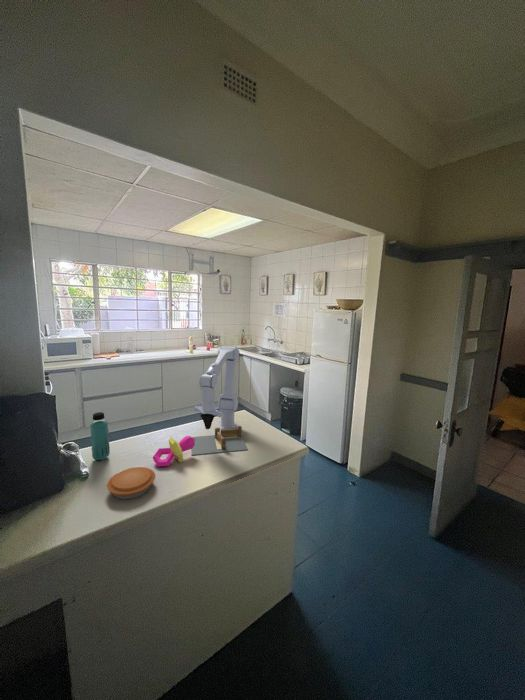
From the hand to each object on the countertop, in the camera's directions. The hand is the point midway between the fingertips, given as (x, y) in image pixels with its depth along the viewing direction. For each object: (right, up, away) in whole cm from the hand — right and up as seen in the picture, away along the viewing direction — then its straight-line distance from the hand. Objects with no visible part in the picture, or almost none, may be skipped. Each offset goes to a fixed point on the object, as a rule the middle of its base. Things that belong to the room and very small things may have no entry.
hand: (208, 428), depth 129 cm
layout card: (+4, -8, +4) cm, 10 cm away
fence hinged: (+6, -8, +2) cm, 10 cm away
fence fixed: (+8, -8, +10) cm, 15 cm away
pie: (-21, -13, -30) cm, 39 cm away
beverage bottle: (-42, -10, -13) cm, 45 cm away
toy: (-12, -10, -11) cm, 19 cm away
